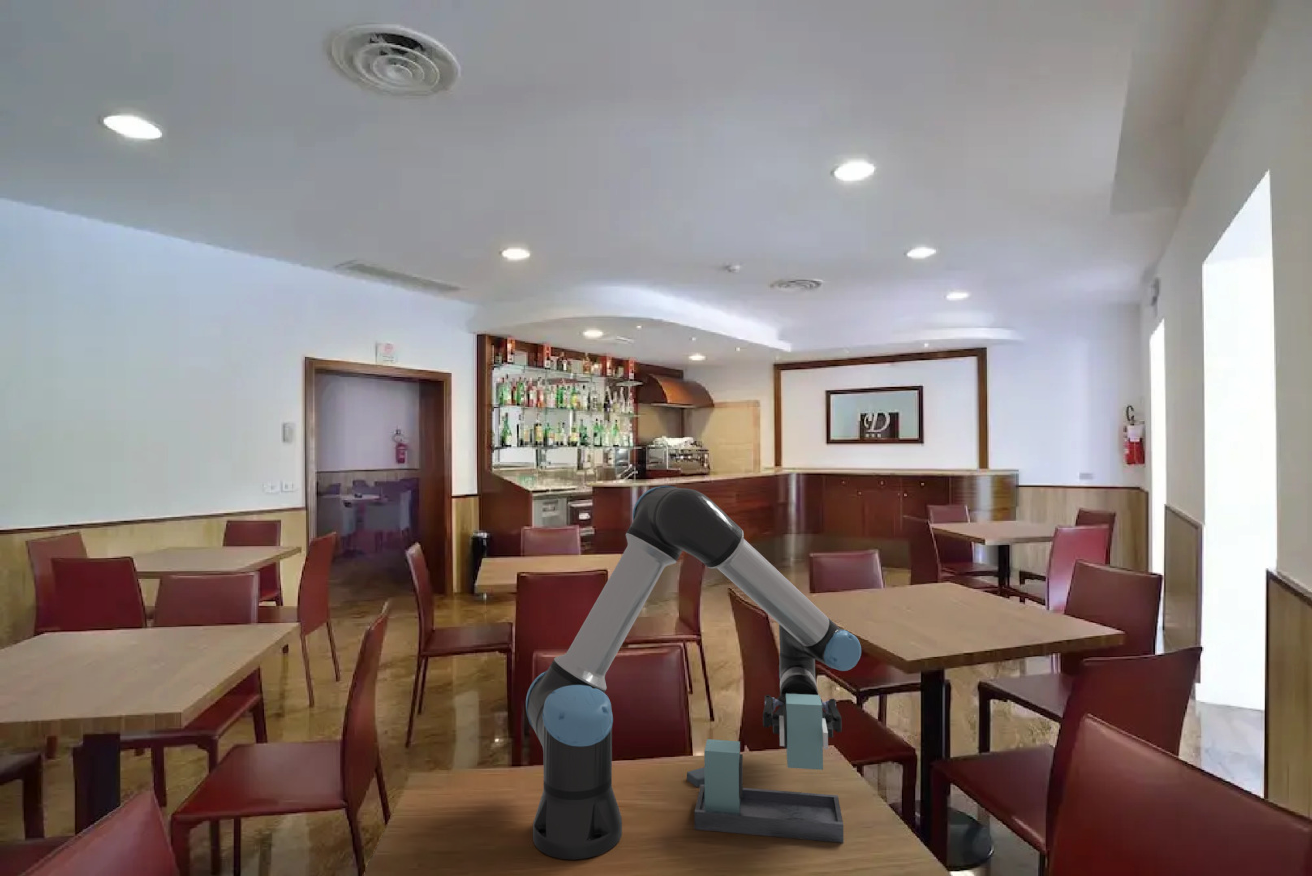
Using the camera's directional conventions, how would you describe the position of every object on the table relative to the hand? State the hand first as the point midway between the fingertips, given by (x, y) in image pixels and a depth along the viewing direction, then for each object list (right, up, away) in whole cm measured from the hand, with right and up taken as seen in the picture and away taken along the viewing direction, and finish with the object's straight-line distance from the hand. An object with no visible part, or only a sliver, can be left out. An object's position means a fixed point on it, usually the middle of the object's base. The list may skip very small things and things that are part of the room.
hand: (803, 739), depth 116 cm
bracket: (-13, -18, +22) cm, 31 cm away
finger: (+1, -6, +5) cm, 8 cm away
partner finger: (-13, -15, +7) cm, 21 cm away
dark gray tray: (-5, -17, +5) cm, 18 cm away
